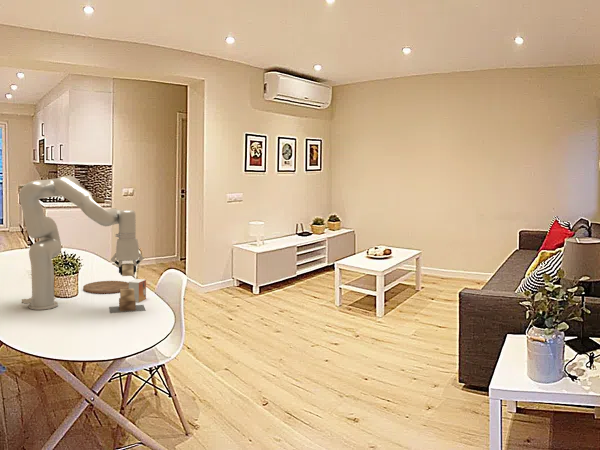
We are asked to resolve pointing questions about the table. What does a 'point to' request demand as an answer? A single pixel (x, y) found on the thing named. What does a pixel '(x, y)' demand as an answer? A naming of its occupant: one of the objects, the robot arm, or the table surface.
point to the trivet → (105, 287)
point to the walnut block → (127, 305)
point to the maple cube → (127, 269)
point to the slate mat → (117, 310)
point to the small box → (138, 289)
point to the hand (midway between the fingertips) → (127, 273)
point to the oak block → (127, 294)
